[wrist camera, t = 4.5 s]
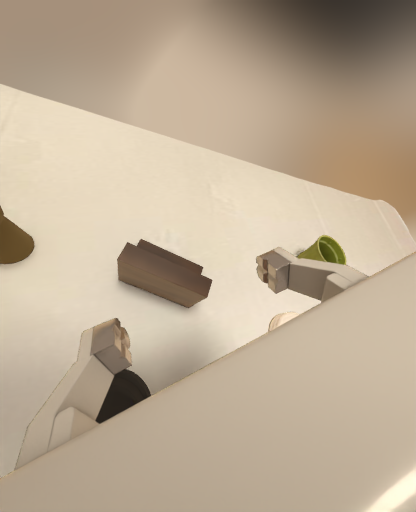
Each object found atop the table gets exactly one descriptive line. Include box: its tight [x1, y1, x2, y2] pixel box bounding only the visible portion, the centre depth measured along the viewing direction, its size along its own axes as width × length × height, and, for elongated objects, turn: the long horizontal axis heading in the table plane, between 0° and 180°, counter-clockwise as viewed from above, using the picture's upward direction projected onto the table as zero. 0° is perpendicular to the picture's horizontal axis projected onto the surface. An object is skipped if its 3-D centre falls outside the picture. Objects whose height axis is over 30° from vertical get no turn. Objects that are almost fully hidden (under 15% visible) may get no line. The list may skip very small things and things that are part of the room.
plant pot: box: [297, 235, 346, 265], centre depth 52 cm, size 9×9×9 cm
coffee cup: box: [95, 369, 151, 424], centre depth 22 cm, size 9×9×15 cm
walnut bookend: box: [117, 239, 212, 308], centre depth 34 cm, size 9×14×10 cm, turn 73°
